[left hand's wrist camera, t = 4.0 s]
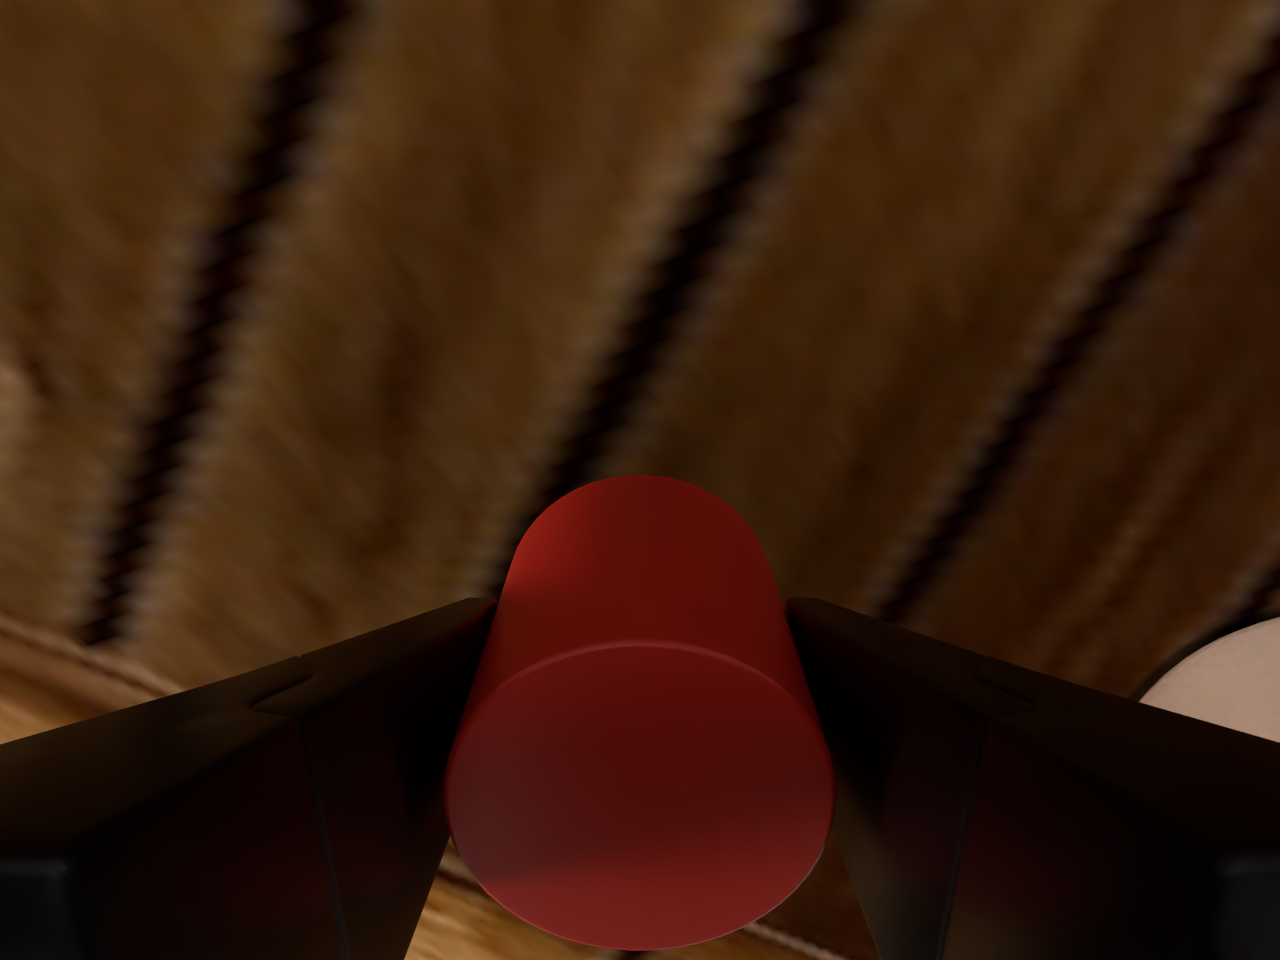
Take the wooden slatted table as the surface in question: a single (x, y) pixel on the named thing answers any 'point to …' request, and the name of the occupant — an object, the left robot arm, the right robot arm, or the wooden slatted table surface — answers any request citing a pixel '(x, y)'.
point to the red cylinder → (639, 727)
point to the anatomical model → (1228, 682)
